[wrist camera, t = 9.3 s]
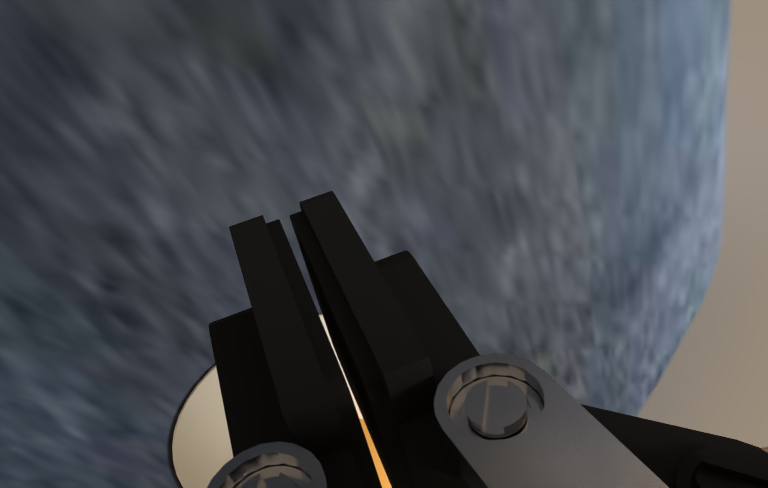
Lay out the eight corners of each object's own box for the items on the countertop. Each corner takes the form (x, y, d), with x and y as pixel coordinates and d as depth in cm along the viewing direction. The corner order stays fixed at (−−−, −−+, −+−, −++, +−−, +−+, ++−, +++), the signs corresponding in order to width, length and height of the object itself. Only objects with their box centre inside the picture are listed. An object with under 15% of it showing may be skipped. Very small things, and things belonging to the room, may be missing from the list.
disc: (119, 385, 27) (119, 389, 27) (432, 267, 29) (434, 269, 29) (230, 558, 35) (231, 562, 35) (468, 455, 38) (469, 458, 37)
